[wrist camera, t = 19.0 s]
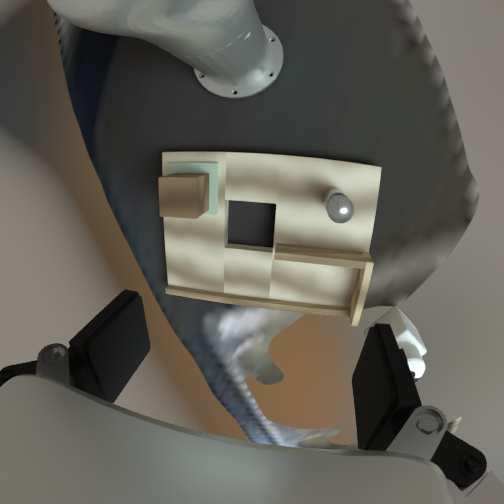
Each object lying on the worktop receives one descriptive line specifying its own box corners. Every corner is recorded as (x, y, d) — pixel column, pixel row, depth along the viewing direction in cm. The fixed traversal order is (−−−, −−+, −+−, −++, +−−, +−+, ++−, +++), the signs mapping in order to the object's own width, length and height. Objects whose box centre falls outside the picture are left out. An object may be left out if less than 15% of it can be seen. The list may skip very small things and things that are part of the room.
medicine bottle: (385, 350, 45) (398, 399, 34) (363, 330, 44) (374, 380, 33) (415, 327, 42) (437, 373, 31) (395, 304, 41) (416, 350, 30)
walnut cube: (175, 173, 37) (158, 177, 32) (209, 173, 36) (196, 177, 32) (176, 207, 39) (159, 216, 34) (209, 209, 38) (196, 218, 34)
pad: (171, 162, 37) (169, 162, 37) (218, 163, 36) (217, 163, 36) (172, 210, 40) (169, 211, 39) (217, 213, 39) (216, 214, 38)
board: (168, 151, 39) (150, 153, 34) (377, 166, 35) (389, 169, 30) (173, 284, 47) (159, 300, 42) (352, 306, 43) (357, 326, 38)
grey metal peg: (323, 185, 35) (328, 194, 29) (346, 188, 35) (355, 198, 28) (321, 208, 36) (325, 221, 30) (343, 210, 36) (352, 225, 29)
